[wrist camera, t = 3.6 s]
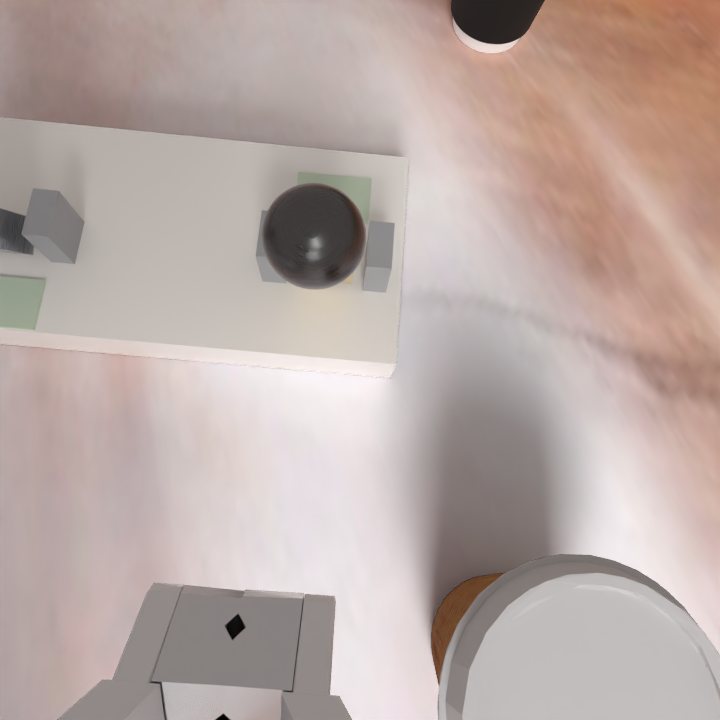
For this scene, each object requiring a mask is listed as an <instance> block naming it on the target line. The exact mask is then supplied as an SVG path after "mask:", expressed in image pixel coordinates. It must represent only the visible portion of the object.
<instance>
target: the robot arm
mask: <svg viewBox="0 0 720 720" xmlns="http://www.w3.org/2000/svg"><path fill="white" fill-rule="evenodd" d="M335 603H336V602H335V596H328V595H312V594H305V597H304V593H294V592H277V591H259V590H245V591H241V590H230V589H220V588H210V587H200V586H189V585H179V584H166V583H153V585H152V586H151V587H150V589H149V590H148V592H147V594H146V596H145V599H144V601H143V604H142V606H141V609H140V611H139V614H138V616H137V619H136V621H135V624H134V626H133V629H132V631H131V634H130V636H129V639H128V641H127V644H126V646H125V649H124V651H123V654H122V656H121V659H120V661H119V664H118V666H117V669H116V671H115V674H114V676H113V679H112V680H101V681H100V682H99V683H98V684H97V685H96V686H95V687H93V688H92V689H91V690H90V691H89V692H88V693H87V694H85V695H84V696H83V697H82V698H81V699H80V700H79V701H78V702H76V703H75V704H74V705H73V706H72V707H71V708H70V709H69V710H67V711H66V712H65V713H64V714H63V715H62V716H61V717H60V718H58V719H57V720H352V719H351V717H350V715H349V713H348V711H347V710H346V708H345V706H344V704H343V702H342V700H341V698H340V696H335V695H330V684H331V668H332V652H333V635H334V619H335Z"/></svg>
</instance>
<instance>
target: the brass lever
mask: <svg viewBox="0 0 720 720" xmlns="http://www.w3.org/2000/svg"><path fill="white" fill-rule="evenodd" d="M262 246H263V250H264V253H265V256H266V258H267V260H268V262H269V264H270V265H271V267H272V268H273V269H274V271H275V272H276V273H277V274H278V275H279V276H280V277H281V278H283V279H284V280H285V281H287V282H289V283H290V284H292V285H295V286H297V287H300V288H304V289H313V290H318V289H325V288H329V287H332V286H335V285H337V284H339V283H340V284H351V285H352V280H353V275H354V271H355V269H356V268H357V267H358V265H359V263H360V262H361V259H362V257H363V254H364V251H365V246H366V228H365V224H364V220H363V217H362V215H361V213H360V211H359V209H358V207H357V206H356V204H355V203H354V202H353V201H352V200H351V199H350V198H349V197H348V196H347V195H346V194H345V193H343V192H342V191H340V190H339V189H337V188H334V187H332V186H329V185H326V184H321V183H304V184H300V185H297V186H294V187H292V188H290V189H288V190H286V191H285V192H283V193H282V194H281V195H279V196H278V197H277V198H276V199H275V200H274V202H273V203H272V204H271V206H270V207H269V209H268V211H267V213H266V215H265V218H264V221H263V225H262Z"/></svg>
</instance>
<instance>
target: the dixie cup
mask: <svg viewBox="0 0 720 720" xmlns="http://www.w3.org/2000/svg"><path fill="white" fill-rule="evenodd" d="M544 1H545V0H452V2H451V11H452V16H453V28H454V31H455V33H456V35H457V36H458V38H459V39H460V40H461V41H462V42H463V43H464V44H465V45H467V46H468V47H470V48H471V49H474V50H476V51H479V52H483V53H500V52H503V51H506V50H508V49H510V48H512V47H513V46H514V45H515V44H516V43H517V42H518V41H519V39H520V37H522V36H523V35H524V34H525V33H526V32H527V30H528V29H529V28H530V26H531V24H532V22H533V20H534V19H535V17H536V15H537V13H538V11H539V10H540V8H541V6H542V4H543V2H544Z"/></svg>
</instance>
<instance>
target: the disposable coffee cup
mask: <svg viewBox="0 0 720 720" xmlns="http://www.w3.org/2000/svg"><path fill="white" fill-rule="evenodd" d="M431 648H432V655H433V661H434V665H435V670H436V675H437V679H438V684H439V695H438V720H720V655H719V653H718V652H717V650H716V649H715V647H714V646H713V644H712V643H711V641H710V640H709V639H708V637H707V636H706V634H705V633H704V632H703V631H702V629H701V628H700V627H699V626H698V625H697V623H696V622H695V621H694V619H693V618H692V617H691V616H690V614H689V613H688V612H687V611H686V609H685V608H684V607H683V606H682V605H681V604H680V603H679V602H678V601H677V600H676V599H675V598H674V597H673V596H672V595H671V594H670V593H669V592H668V591H667V590H665V589H664V588H663V587H661V586H660V585H659V584H658V583H656V582H655V581H653V580H652V579H650V578H649V577H647V576H645V575H644V574H642V573H640V572H639V571H637V570H635V569H633V568H630V567H628V566H625V565H623V564H621V563H618V562H616V561H613V560H609V559H605V558H600V557H596V556H592V555H569V554H560V555H555V556H549V557H544V558H540V559H536V560H533V561H529V562H526V563H524V564H522V565H520V566H518V567H516V568H514V569H512V570H510V571H508V572H506V573H501V574H494V575H484V576H479V577H474V578H472V579H469V580H467V581H465V582H463V583H461V584H460V585H458V586H457V587H456V588H454V589H453V590H452V591H451V592H450V593H449V594H448V595H447V597H446V598H445V599H444V601H443V602H442V604H441V606H440V608H439V609H438V611H437V614H436V617H435V620H434V623H433V627H432V634H431Z"/></svg>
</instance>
